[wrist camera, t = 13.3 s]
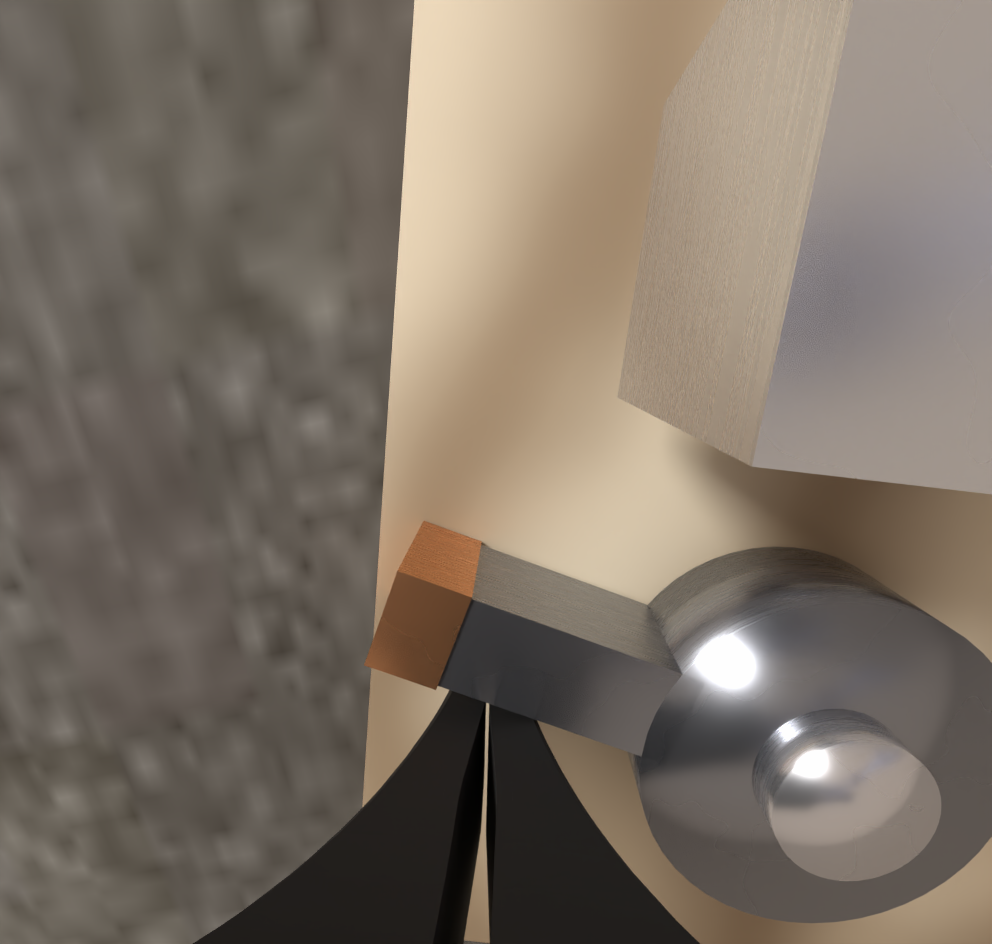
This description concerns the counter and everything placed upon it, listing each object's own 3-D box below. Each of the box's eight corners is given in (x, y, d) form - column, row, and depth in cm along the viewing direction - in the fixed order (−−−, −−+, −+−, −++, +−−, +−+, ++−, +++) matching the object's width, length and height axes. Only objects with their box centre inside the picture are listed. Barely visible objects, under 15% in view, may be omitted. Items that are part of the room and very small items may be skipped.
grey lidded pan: (973, 607, 11) (1158, 714, 8) (827, 844, 12) (935, 1018, 9) (460, 417, 10) (436, 448, 7) (364, 684, 12) (310, 810, 9)
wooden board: (1455, 74, 10) (1853, -41, 7) (1072, 963, 14) (1216, 1123, 11) (431, -34, 10) (396, -190, 7) (367, 879, 14) (330, 1015, 12)
